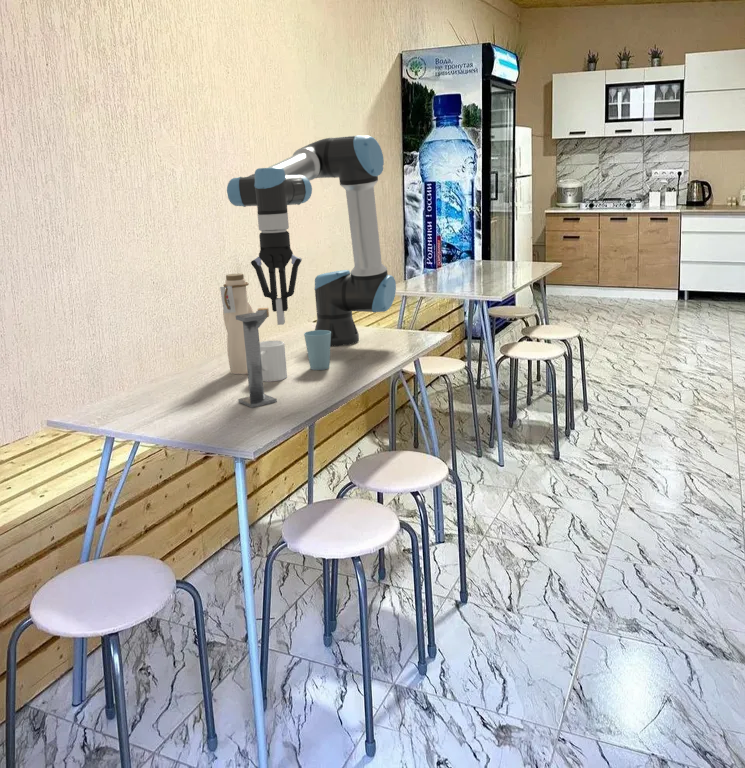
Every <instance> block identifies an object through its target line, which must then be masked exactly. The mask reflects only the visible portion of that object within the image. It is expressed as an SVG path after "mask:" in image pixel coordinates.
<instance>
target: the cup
mask: <svg viewBox="0 0 745 768" xmlns="http://www.w3.org/2000/svg"><path fill="white" fill-rule="evenodd" d="M303 336H304V340H305V346H306V352H307V357H308V362H309V367H310V369H311V370H313V371H324V370H327V369H328V370H329V368H330V364H331V359H330V358H331V346H330V342H331V331H328V330H315V329H313V330H308V331H306V332H304V333H303Z"/></svg>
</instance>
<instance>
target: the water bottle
mask: <svg viewBox="0 0 745 768" xmlns="http://www.w3.org/2000/svg"><path fill="white" fill-rule="evenodd" d="M249 285H250V284H249V282H247V281H246V279H245V277H244V273H230V274H229V273H228V274H226V275H225V283H224V284H223V285H222V286H220V287H219V290H220V296H221V301H222V308H223V309H222V316H223V317H222V318H223V321H224V326H225V330H226V333H227V334H226V335H227V337H226V340H227V341H226V348H227V349H226V350H227V358H228V363H229V371H230V374H232V375H233V374H234V375H246V374H247V375H248V373H247V362H246V351H245V341H244V330H243V321H239V320H236V315H242V314H248V313H255V312H254V310H253V307H252V305H251V304H250V303H249V301H248V292H247V286H249Z"/></svg>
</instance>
